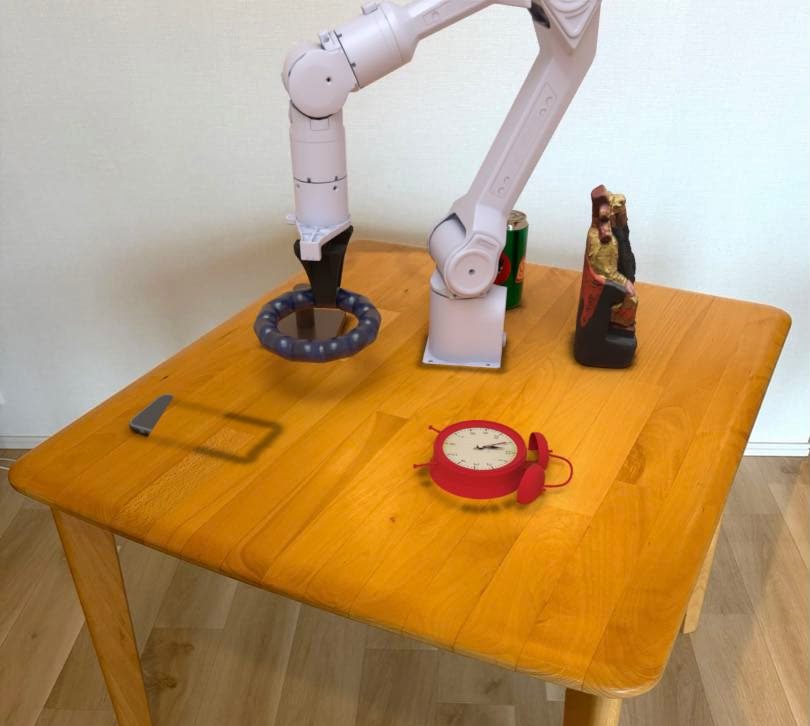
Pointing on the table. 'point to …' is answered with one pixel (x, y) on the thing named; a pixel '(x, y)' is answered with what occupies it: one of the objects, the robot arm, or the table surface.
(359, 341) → the ring
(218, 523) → the table surface
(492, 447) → the alarm clock
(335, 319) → the post
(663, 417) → the table surface
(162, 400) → the grey flat tapered piece
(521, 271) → the soda can
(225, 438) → the table surface
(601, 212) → the statue
